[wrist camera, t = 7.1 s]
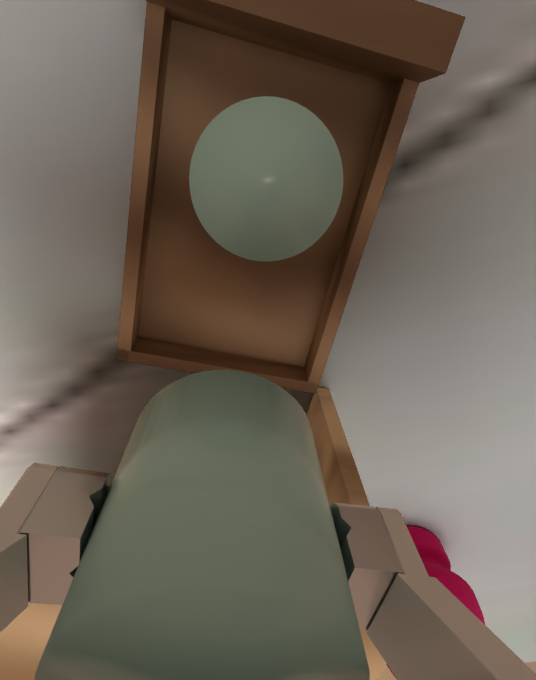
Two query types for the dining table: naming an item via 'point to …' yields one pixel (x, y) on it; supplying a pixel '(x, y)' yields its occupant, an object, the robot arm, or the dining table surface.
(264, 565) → the pale green rounded cylinder
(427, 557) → the pepper mill
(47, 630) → the counter cubby
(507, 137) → the dining table surface
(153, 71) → the tray
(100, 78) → the dining table surface
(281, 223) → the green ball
